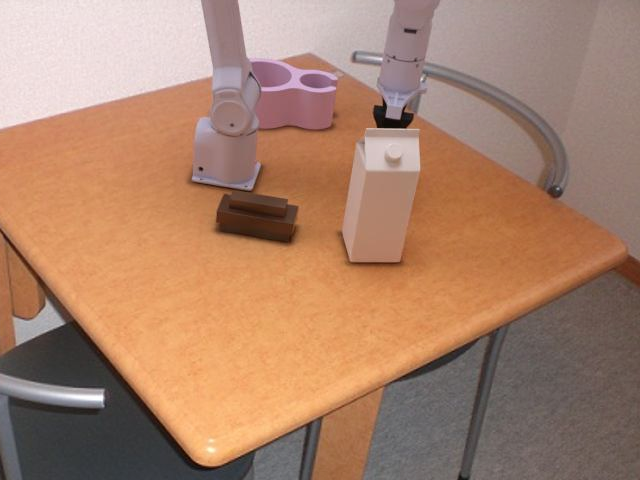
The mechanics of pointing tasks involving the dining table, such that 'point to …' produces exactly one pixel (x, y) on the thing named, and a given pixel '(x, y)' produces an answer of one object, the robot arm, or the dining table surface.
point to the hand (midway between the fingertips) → (387, 140)
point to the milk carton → (381, 194)
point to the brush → (257, 215)
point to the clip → (293, 95)
